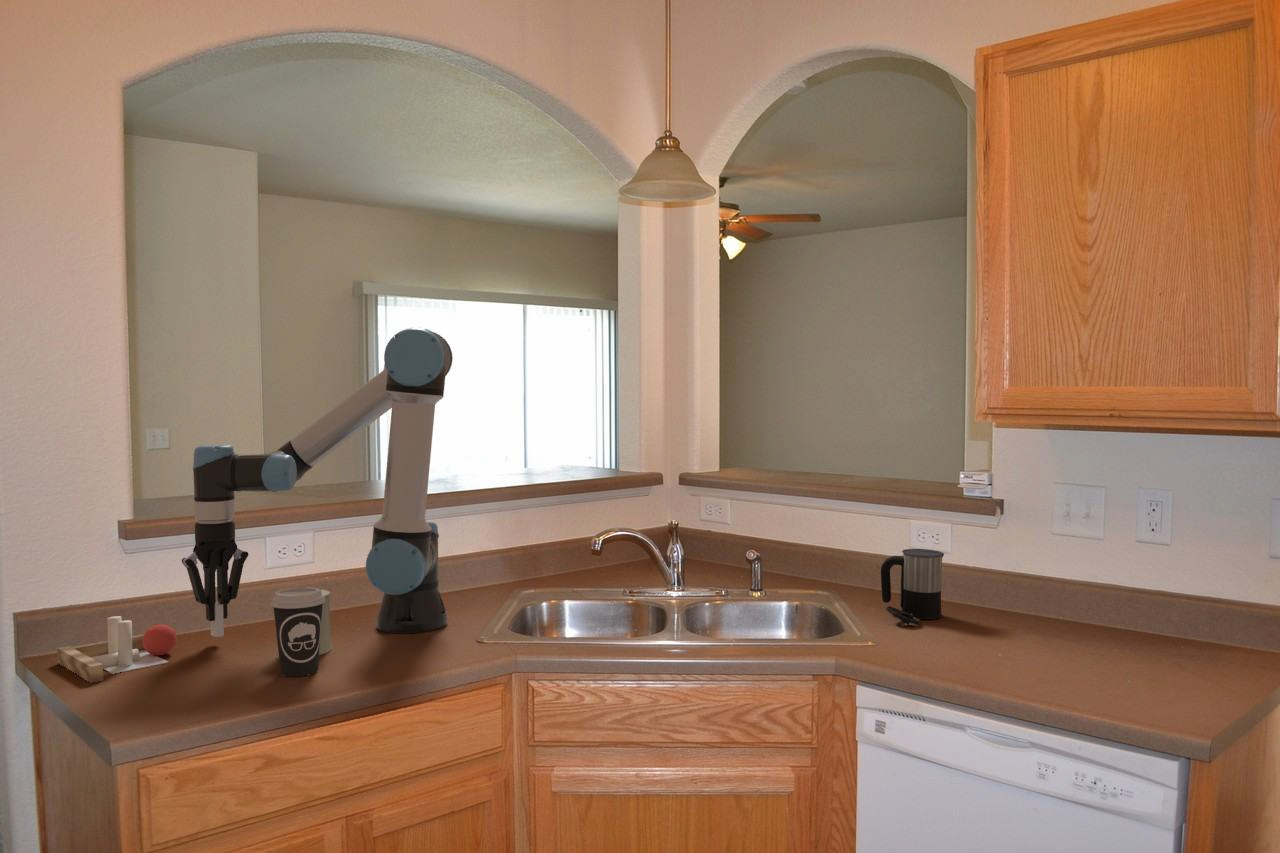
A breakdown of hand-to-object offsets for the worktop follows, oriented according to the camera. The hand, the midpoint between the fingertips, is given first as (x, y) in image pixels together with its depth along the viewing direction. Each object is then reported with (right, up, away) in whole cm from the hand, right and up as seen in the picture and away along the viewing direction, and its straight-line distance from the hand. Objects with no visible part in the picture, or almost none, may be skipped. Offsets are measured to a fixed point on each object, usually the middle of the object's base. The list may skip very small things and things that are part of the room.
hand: (217, 635), depth 198 cm
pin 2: (-11, -3, -15) cm, 19 cm away
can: (+20, -2, -5) cm, 21 cm away
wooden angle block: (-12, -2, -13) cm, 18 cm away
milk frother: (+148, -1, +21) cm, 150 cm away
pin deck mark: (-12, -3, -12) cm, 17 cm away
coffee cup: (+23, -3, -19) cm, 30 cm away
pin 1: (-14, -2, -12) cm, 19 cm away
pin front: (-11, -1, -11) cm, 15 cm away
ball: (-8, +1, -8) cm, 11 cm away
